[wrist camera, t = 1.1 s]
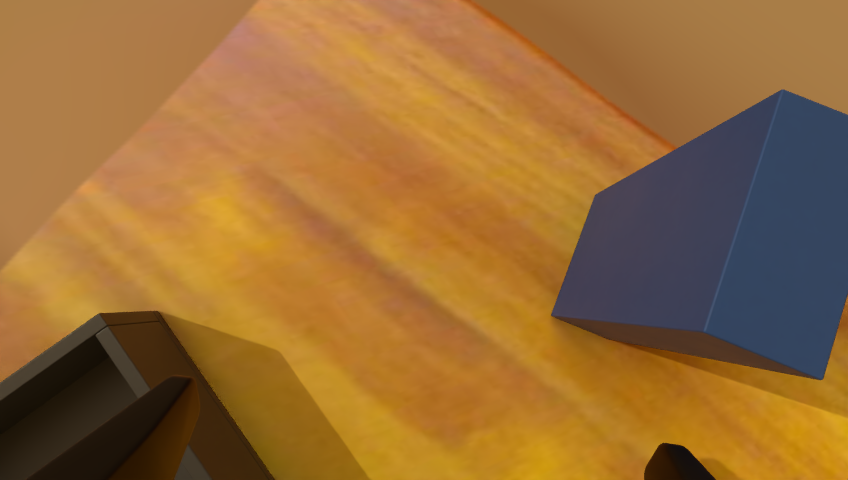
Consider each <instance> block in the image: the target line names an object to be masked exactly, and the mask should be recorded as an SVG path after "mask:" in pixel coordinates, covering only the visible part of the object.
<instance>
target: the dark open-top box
mask: <svg viewBox="0 0 848 480" xmlns="http://www.w3.org/2000/svg"><path fill="white" fill-rule="evenodd" d="M172 375H183V376H190V377H193V378H194V379H195V380H196V383H197V389H198V395H199V401H200V412H199V416H198V419H197V422H196V424H195V427H194V429H193V432H192V435H191V437H190V440H189V442H188V445H187V448H186V450H185V453H184V455H183V458H182V460H181V463H180V466H179V468H178V471H177V473H176V476H175V478H174V480H274V479H273V477H272V476H271V474H270V473H269V471H268V470H267V468H266V467H265V466H264V464H263V463H262V461H261V460H260V458H259V457H258V455H257V454H256V453H255V451H254V450H253V448H252V447H251V445H250V444H249V442H248V441H247V440H246V438H245V437H244V435H243V434H242V432H241V431H240V429H239V428H238V427H237V425H236V424H235V422H234V421H233V419H232V418H231V416H230V415H229V413H228V412H227V411H226V409H225V408H224V406H223V405H222V403H221V402H220V400H219V399H218V398H217V396H216V395H215V393H214V392H213V390H212V389H211V387H210V386H209V385H208V383H207V382H206V380H205V379H204V377H203V376H202V374H201V373H200V372H199V370H198V369H197V367H196V366H195V364H194V363H193V361H192V360H191V359H190V357H189V356H188V354H187V353H186V351H185V350H184V348H183V347H182V346H181V344H180V343H179V341H178V340H177V338H176V337H175V335H174V334H173V333H172V331H171V330H170V328H169V327H168V325H167V324H166V322H165V321H164V320H163V318H162V317H161V315H160V314H159V312H158V311H141V312H118V313H99V314H97V315H96V316H94V317H93V318H91V319H90V320H89V321H87V322H86V323H84V324H83V325H81V326H80V327H79V328H77V329H76V330H74V331H73V332H72V333H70V334H69V335H67V336H66V337H64V338H63V339H62V340H60V341H59V342H57V343H56V344H54V345H53V346H52V347H50V348H49V349H47V350H46V351H45V352H43V353H42V354H40V355H39V356H37V357H36V358H35V359H33V360H32V361H30V362H29V363H27V364H26V365H25V366H23V367H22V368H20V369H19V370H18V371H16V372H15V373H13V374H12V375H10V376H9V377H8V378H6V379H5V380H3V381H2V382H0V480H25V479H26V478H28V477H29V476H30V475H32V474H33V473H35V472H36V471H37V470H39V469H40V468H42V467H43V466H44V465H46V464H47V463H49V462H50V461H51V460H53V459H54V458H56V457H57V456H58V455H60V454H61V453H63V452H64V451H65V450H67V449H68V448H70V447H71V446H72V445H74V444H75V443H77V442H78V441H79V440H81V439H82V438H84V437H85V436H86V435H88V434H89V433H91V432H92V431H93V430H95V429H96V428H98V427H99V426H100V425H102V424H103V423H105V422H106V421H107V420H109V419H110V418H112V417H113V416H114V415H116V414H117V413H119V412H120V411H121V410H123V409H124V408H126V407H127V406H128V405H130V404H131V403H133V402H134V401H135V400H137V399H138V398H140V397H141V396H142V395H144V394H145V393H147V392H148V391H149V390H151V389H152V388H154V387H155V386H156V385H158V384H159V383H161V382H162V381H163V380H165V379H166V378H168V377H169V376H172Z"/></svg>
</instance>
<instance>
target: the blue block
mask: <svg viewBox="0 0 848 480" xmlns="http://www.w3.org/2000/svg"><path fill="white" fill-rule="evenodd" d="M847 295H848V115H847V114H844V113H842V112H839V111H837V110H834V109H832V108H829V107H827V106H824V105H821V104H819V103H816V102H814V101H811V100H809V99H806V98H804V97H801V96H799V95H796V94H793V93H791V92H789V91H786V90H780V91H778V92H777V93H775V94H773V95H771V96H770V97H768V98H766V99H764V100H762V101H761V102H759V103H757V104H755V105H754V106H752V107H750V108H748V109H746V110H745V111H743V112H741V113H739V114H738V115H736V116H734V117H732V118H731V119H729V120H727V121H725V122H723V123H722V124H720V125H718V126H716V127H715V128H713V129H711V130H709V131H707V132H706V133H704V134H702V135H701V136H699V137H697V138H695V139H693V140H692V141H690V142H688V143H686V144H684V145H683V146H681V147H679V148H677V149H676V150H674V151H672V152H670V153H668V154H667V155H665V156H663V157H661V158H660V159H658V160H656V161H654V162H653V163H651V164H649V165H647V166H645V167H644V168H642V169H640V170H638V171H637V172H635V173H633V174H631V175H629V176H628V177H626V178H624V179H622V180H621V181H619V182H617V183H615V184H613V185H612V186H610V187H608V188H606V189H605V190H603V191H601V192H599V193H598V194H596V195H595V197H594V200H593V203H592V205H591V208H590V211H589V213H588V216H587V219H586V222H585V224H584V227H583V230H582V232H581V235H580V238H579V241H578V243H577V246H576V249H575V252H574V254H573V257H572V260H571V262H570V265H569V268H568V271H567V273H566V276H565V279H564V282H563V284H562V287H561V290H560V292H559V295H558V298H557V301H556V303H555V306H554V309H553V312H552V314H551V316H553V317H555V318H558V319H560V320H562V321H565V322H567V323H570V324H572V325H575V326H577V327H580V328H582V329H585V330H587V331H589V332H592V333H594V334H597V335H599V336H602V337H604V338H607V339H611V340H616V341H621V342H626V343H631V344H636V345H642V346H647V347H652V348H657V349H662V350H667V351H673V352H678V353H683V354H688V355H693V356H698V357H703V358H709V359H714V360H719V361H724V362H729V363H734V364H740V365H745V366H750V367H755V368H760V369H765V370H770V371H776V372H781V373H786V374H791V375H796V376H801V377H806V378H812V379H817V380H823V378H824V374H825V371H826V367H827V364H828V360H829V357H830V353H831V350H832V346H833V343H834V340H835V336H836V333H837V329H838V326H839V322H840V319H841V315H842V312H843V308H844V305H845V302H846V298H847Z"/></svg>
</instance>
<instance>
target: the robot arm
mask: <svg viewBox="0 0 848 480" xmlns="http://www.w3.org/2000/svg"><path fill="white" fill-rule="evenodd" d="M199 412H200V401H199V395H198V389H197V383H196V380H195V379H194V378H193V377H190V376H183V375H172V376H169V377H168V378H166V379H165V380H163V381H162V382H161V383H159V384H158V385H156V386H155V387H154V388H152V389H151V390H149V391H148V392H147V393H145V394H144V395H142V396H141V397H140V398H138V399H137V400H135V401H134V402H133V403H131V404H130V405H128V406H127V407H126V408H124V409H123V410H121V411H120V412H119V413H117V414H116V415H114V416H113V417H112V418H110V419H109V420H107V421H106V422H105V423H103V424H102V425H100V426H99V427H98V428H96V429H95V430H93V431H92V432H91V433H89V434H88V435H86V436H85V437H84V438H82V439H81V440H79V441H78V442H77V443H75V444H74V445H72V446H71V447H70V448H68V449H67V450H65V451H64V452H63V453H61V454H60V455H58V456H57V457H56V458H54V459H53V460H51V461H50V462H49V463H47V464H46V465H44V466H43V467H42V468H40V469H39V470H37V471H36V472H35V473H33V474H32V475H30V476H29V477H28V478H26V479H25V480H174V478H175V476H176V473H177V471H178V468H179V466H180V463H181V460H182V458H183V455H184V453H185V450H186V448H187V445H188V442H189V440H190V437H191V435H192V432H193V429H194V427H195V424H196V422H197V419H198V416H199ZM644 480H716V479H715V478H714V477H713V476H712V475H711V474H710V473H709V472H708V471H707V469H706V468H705V467H704V466H703V465H702V464H701V463H700V462H699V461H698V460H697V459H696V458H695V457H694V456H693V454H692V453H691V452H690V451H689V450H688V449H686V448H685V447H684V446H681V445H676V444H669V443H662V444H660V445H659V446H658V448H657V449H656V451H655V453H654V454H653V456H652V458H651V459H650V461H649V463H648V464H647V466H646V468H645V473H644Z"/></svg>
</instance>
